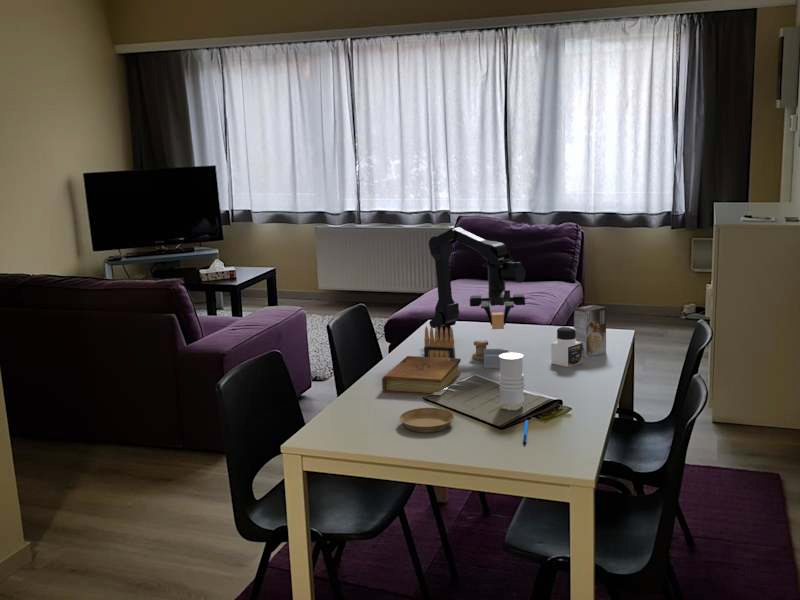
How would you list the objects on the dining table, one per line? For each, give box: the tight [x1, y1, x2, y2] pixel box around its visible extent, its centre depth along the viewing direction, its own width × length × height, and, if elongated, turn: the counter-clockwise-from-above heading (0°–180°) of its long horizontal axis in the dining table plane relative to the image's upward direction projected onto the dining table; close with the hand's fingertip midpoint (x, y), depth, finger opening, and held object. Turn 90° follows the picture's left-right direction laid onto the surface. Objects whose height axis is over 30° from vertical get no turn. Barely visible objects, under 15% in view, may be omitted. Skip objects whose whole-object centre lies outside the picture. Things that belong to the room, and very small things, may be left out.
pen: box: [522, 419, 529, 447], centre depth 220 cm, size 1×19×1 cm, turn 170°
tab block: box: [491, 311, 505, 330], centre depth 293 cm, size 4×4×5 cm
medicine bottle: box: [550, 326, 583, 368], centre depth 280 cm, size 7×7×12 cm
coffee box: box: [573, 304, 607, 358], centre depth 290 cm, size 9×6×16 cm
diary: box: [381, 355, 462, 396], centre depth 266 cm, size 23×19×6 cm
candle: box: [498, 352, 525, 404], centre depth 239 cm, size 7×7×15 cm
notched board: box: [483, 348, 509, 369], centre depth 283 cm, size 9×8×4 cm
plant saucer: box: [399, 407, 455, 433], centre depth 229 cm, size 15×15×3 cm
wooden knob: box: [471, 339, 489, 361], centre depth 291 cm, size 6×6×6 cm
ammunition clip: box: [423, 325, 456, 358], centre depth 289 cm, size 11×2×12 cm, turn 70°
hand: (497, 324), depth 294 cm, fingers closed on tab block, 4 cm apart
